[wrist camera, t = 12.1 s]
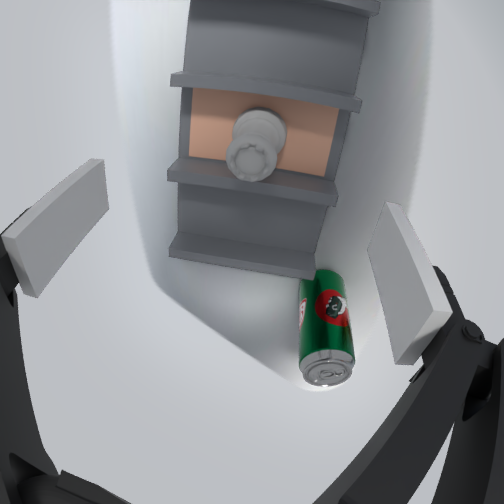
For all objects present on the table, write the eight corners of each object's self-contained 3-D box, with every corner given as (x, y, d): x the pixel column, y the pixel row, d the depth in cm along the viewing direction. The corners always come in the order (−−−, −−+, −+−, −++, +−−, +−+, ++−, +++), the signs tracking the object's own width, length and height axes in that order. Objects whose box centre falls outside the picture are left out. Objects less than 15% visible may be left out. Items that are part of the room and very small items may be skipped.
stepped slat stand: (195, -15, 19) (181, -24, 15) (368, 8, 18) (380, 2, 15) (180, 235, 33) (169, 256, 30) (311, 256, 33) (313, 280, 30)
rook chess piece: (258, 94, 23) (245, 112, 17) (298, 130, 25) (302, 163, 18) (222, 132, 26) (198, 165, 19) (262, 165, 27) (252, 209, 21)
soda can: (293, 272, 35) (291, 364, 25) (338, 261, 33) (351, 353, 24) (306, 303, 37) (306, 392, 28) (347, 294, 36) (359, 383, 26)
